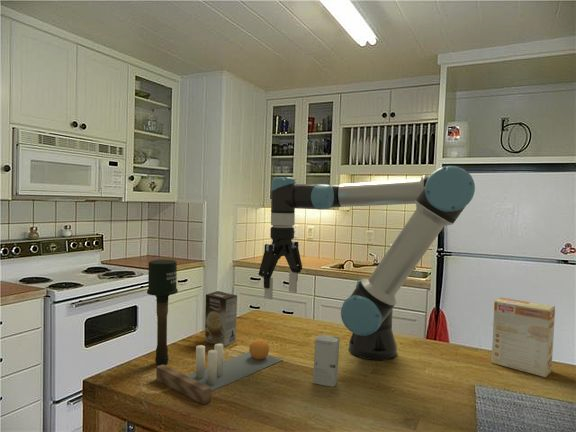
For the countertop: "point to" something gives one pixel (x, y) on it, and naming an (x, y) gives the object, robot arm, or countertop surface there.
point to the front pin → (219, 359)
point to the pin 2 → (212, 367)
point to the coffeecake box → (523, 336)
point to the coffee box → (220, 318)
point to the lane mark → (237, 369)
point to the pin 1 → (200, 362)
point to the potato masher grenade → (162, 300)
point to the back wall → (184, 384)
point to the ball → (259, 349)
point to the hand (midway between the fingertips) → (280, 295)
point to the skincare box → (326, 360)
